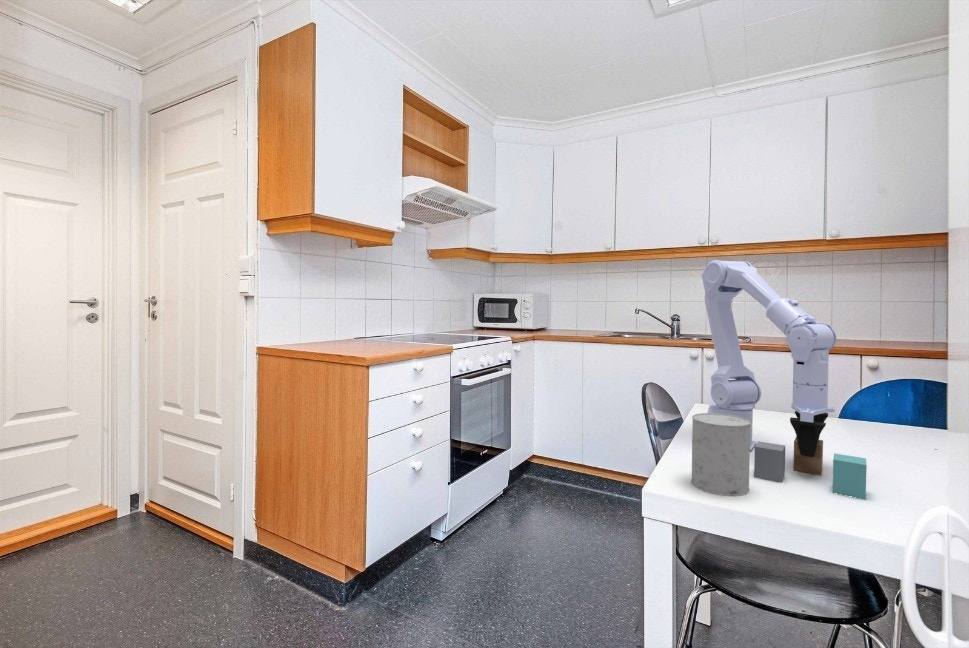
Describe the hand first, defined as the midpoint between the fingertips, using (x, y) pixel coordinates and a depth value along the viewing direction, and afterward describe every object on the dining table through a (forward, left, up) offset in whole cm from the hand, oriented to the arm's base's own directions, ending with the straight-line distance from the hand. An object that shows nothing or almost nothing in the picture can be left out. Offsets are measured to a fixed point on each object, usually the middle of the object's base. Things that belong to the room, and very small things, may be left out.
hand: (808, 451), depth 92 cm
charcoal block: (-6, -9, -4) cm, 11 cm away
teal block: (+6, -9, -4) cm, 12 cm away
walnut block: (0, 0, -4) cm, 4 cm away
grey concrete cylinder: (-12, -20, -4) cm, 24 cm away
